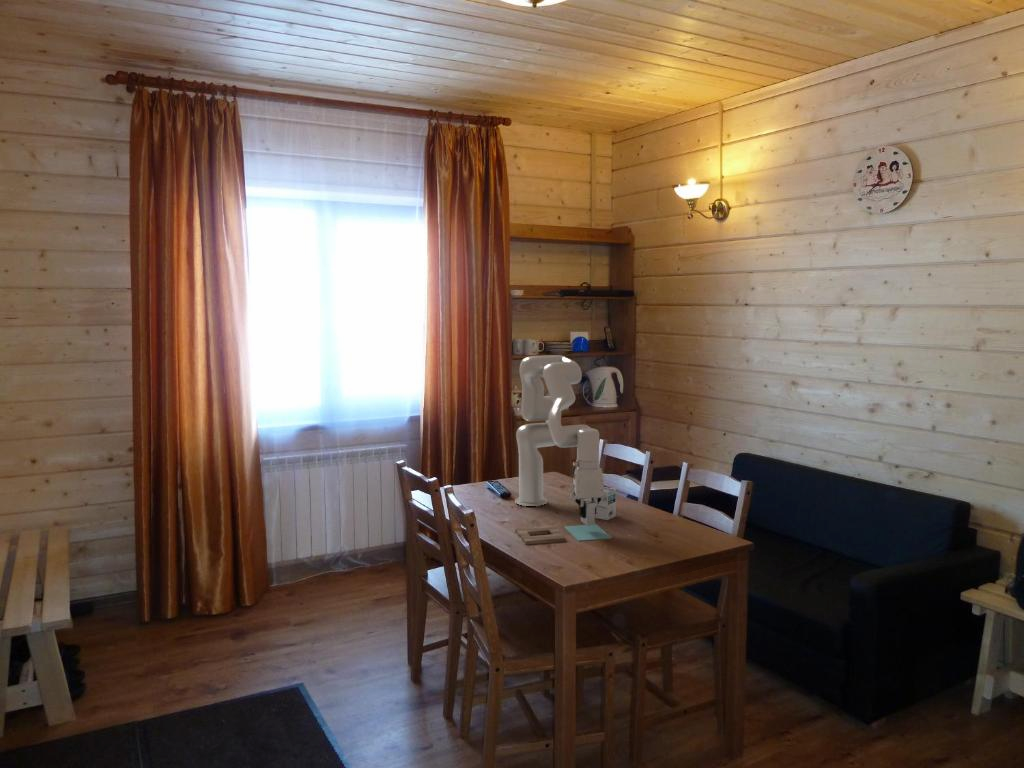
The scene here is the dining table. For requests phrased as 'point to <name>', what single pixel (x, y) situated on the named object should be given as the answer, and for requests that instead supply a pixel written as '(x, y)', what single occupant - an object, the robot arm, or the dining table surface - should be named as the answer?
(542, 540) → the walnut slot plate
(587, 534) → the teal mat
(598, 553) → the dining table surface
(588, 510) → the metal T-key
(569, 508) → the dining table surface
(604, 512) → the light bulb box
